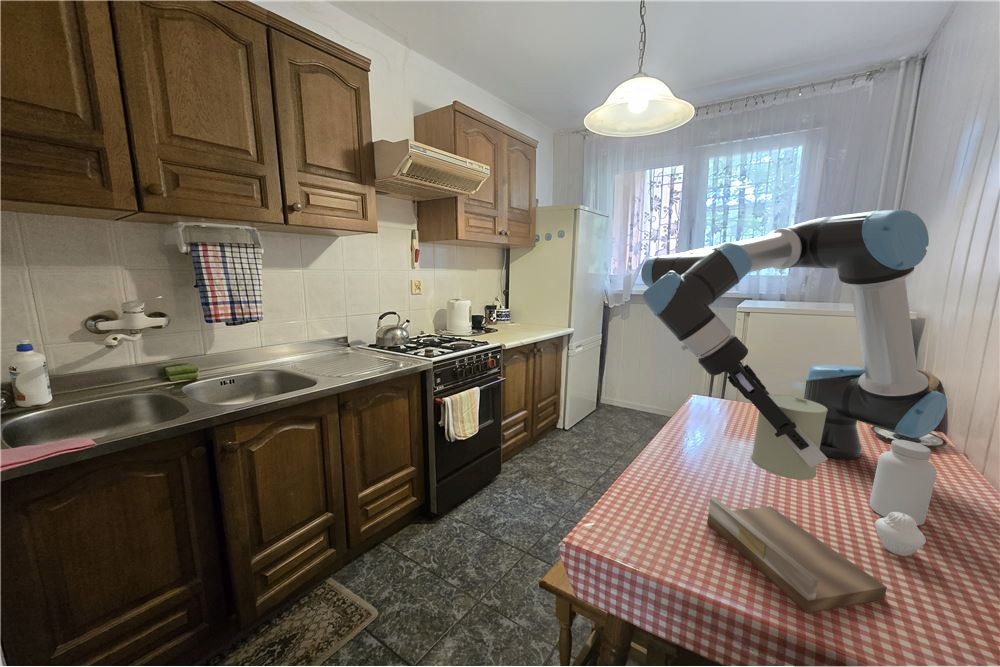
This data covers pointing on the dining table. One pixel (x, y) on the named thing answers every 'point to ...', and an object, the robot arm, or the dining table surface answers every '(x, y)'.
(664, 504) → the dining table surface
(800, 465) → the can
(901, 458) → the pill bottle
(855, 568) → the shelf
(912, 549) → the muffin
